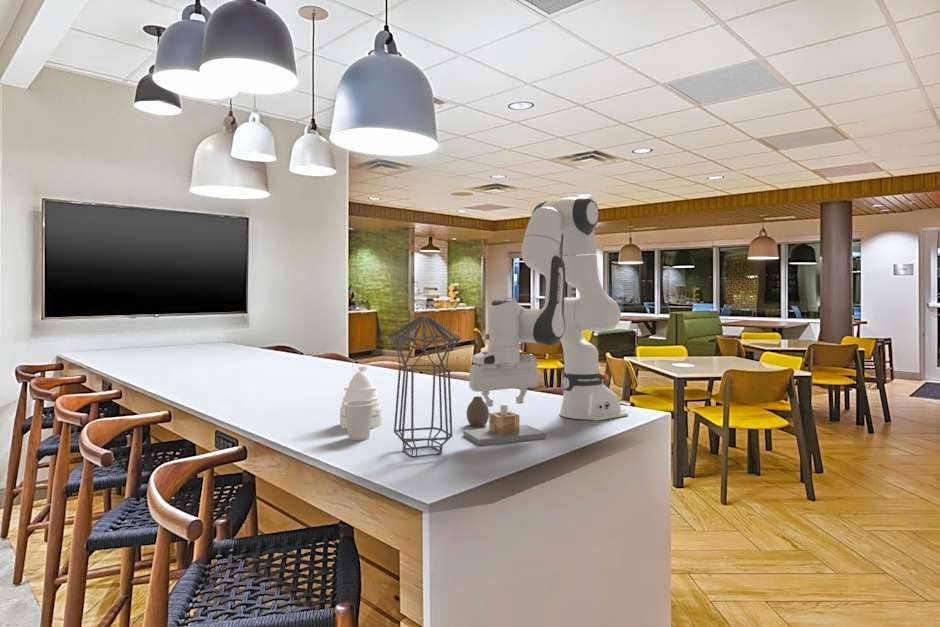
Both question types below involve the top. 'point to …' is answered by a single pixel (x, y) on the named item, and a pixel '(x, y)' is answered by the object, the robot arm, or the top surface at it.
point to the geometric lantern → (423, 339)
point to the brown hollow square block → (504, 423)
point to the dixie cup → (358, 418)
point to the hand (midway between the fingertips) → (504, 404)
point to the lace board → (489, 437)
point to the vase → (477, 412)
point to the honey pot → (362, 397)
